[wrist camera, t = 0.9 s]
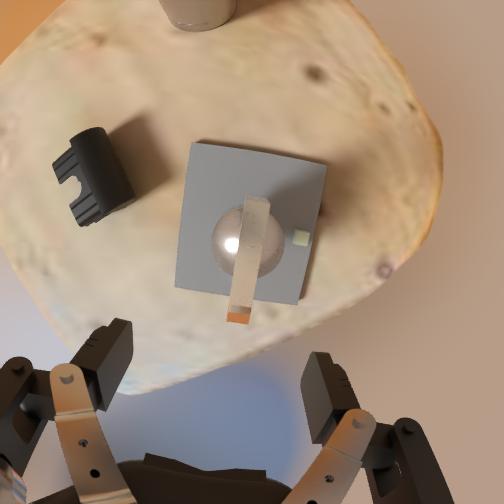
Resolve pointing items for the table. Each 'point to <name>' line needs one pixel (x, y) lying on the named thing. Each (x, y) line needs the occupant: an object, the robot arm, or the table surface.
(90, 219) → the end cap
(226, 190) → the base
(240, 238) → the lock knob
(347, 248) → the table surface
